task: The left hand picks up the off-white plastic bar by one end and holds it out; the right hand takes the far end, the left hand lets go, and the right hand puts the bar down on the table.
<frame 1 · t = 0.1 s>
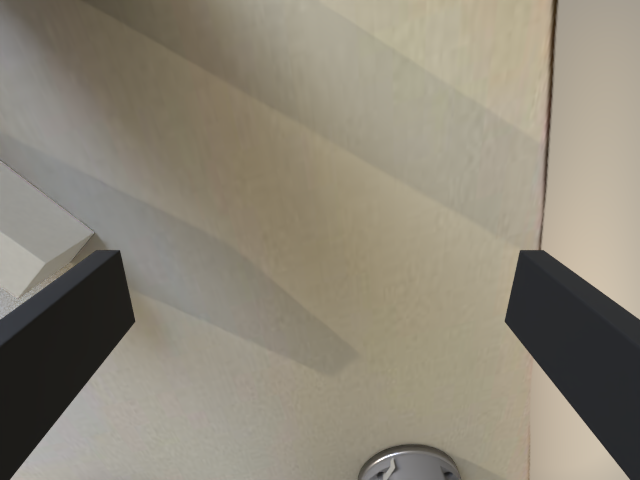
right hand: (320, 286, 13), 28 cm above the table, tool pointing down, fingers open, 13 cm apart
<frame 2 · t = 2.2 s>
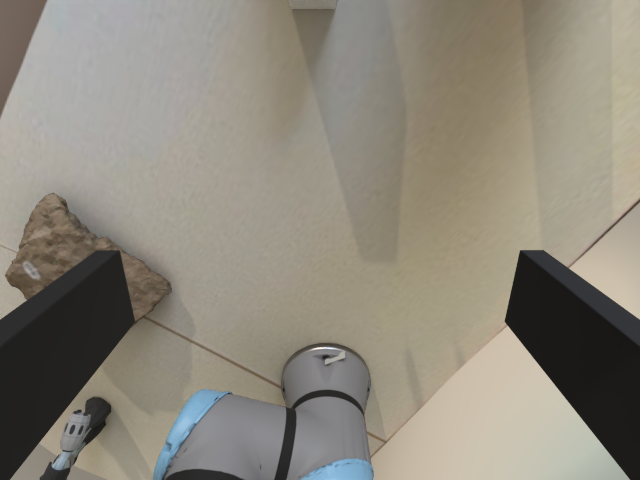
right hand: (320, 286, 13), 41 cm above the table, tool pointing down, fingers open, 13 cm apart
stone: (99, 266, 57), on the table
robot: (97, 413, 69), on the table
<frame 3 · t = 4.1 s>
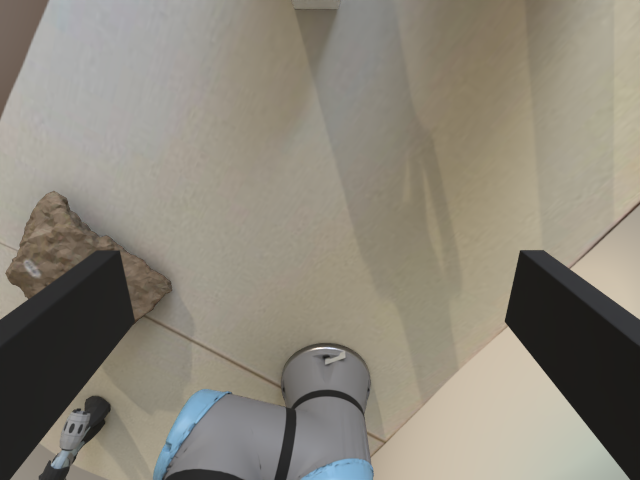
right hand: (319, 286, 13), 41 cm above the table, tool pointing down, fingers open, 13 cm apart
stone: (99, 265, 57), on the table
robot: (96, 412, 68), on the table
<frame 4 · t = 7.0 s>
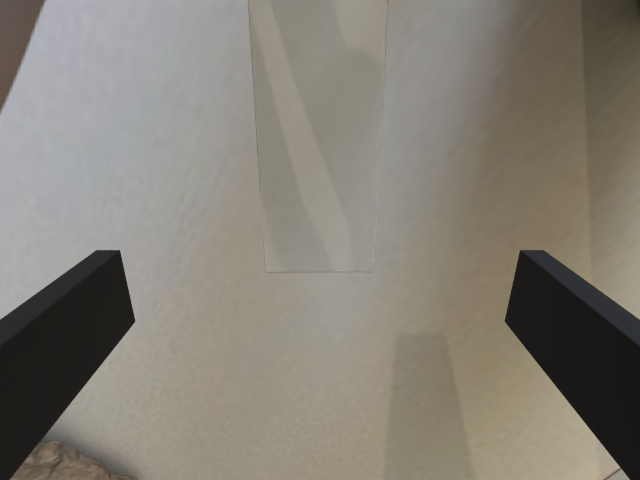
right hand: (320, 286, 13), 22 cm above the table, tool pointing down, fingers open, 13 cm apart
stone: (49, 462, 46), on the table
bar: (318, 40, 22), point 9 cm above the table, touching left hand
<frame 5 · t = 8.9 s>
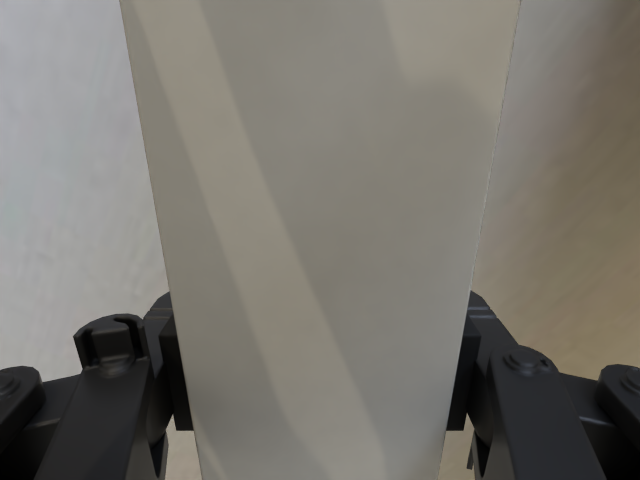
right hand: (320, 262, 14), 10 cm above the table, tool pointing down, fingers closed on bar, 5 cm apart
bar: (319, 41, 12), point 9 cm above the table, touching right hand, left hand
when the left hand's fingers open (13 cm above the table, at t = 9.8 s): bar stays where it is, held by the right hand.
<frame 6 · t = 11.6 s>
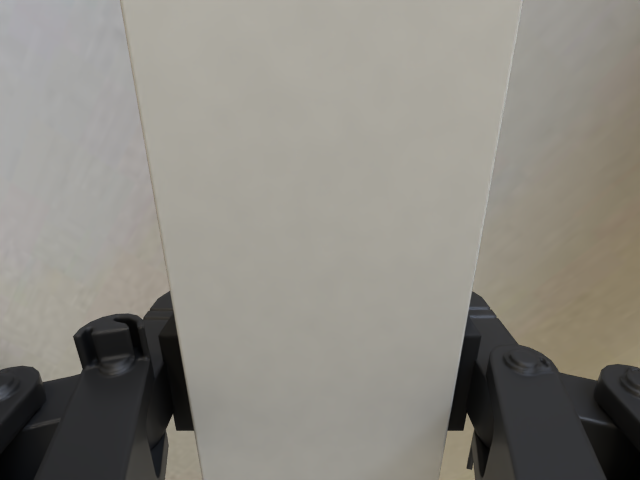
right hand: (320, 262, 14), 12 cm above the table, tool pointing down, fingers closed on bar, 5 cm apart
bar: (320, 39, 12), point 11 cm above the table, touching right hand
when the right hand's fingers open (2 cm above the table, at t = 14.2 s): bar drops 2 cm, on the table.
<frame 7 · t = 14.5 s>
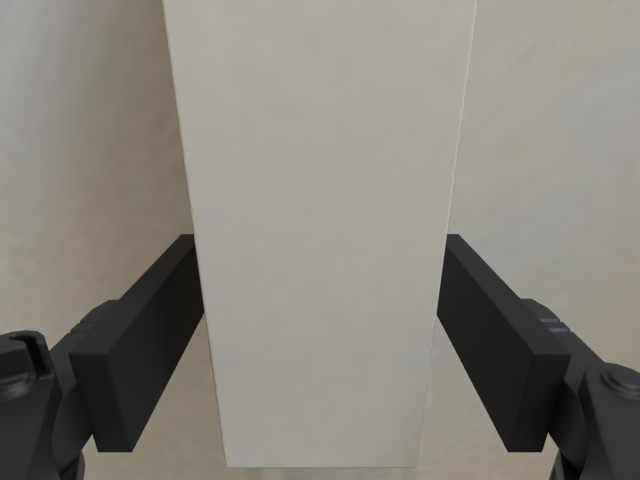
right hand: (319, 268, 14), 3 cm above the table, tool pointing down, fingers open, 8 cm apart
bar: (320, 51, 14), on the table
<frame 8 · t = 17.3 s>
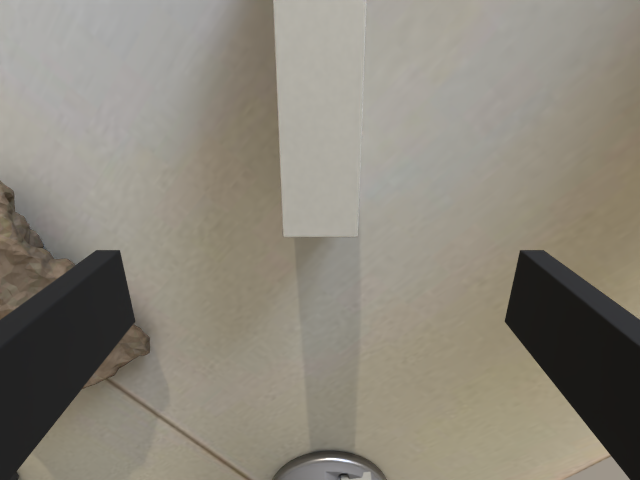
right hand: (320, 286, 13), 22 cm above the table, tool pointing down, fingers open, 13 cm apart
stone: (45, 293, 38), on the table
bar: (320, 71, 30), on the table
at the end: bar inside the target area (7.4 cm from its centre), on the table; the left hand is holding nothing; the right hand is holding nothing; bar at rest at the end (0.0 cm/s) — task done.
